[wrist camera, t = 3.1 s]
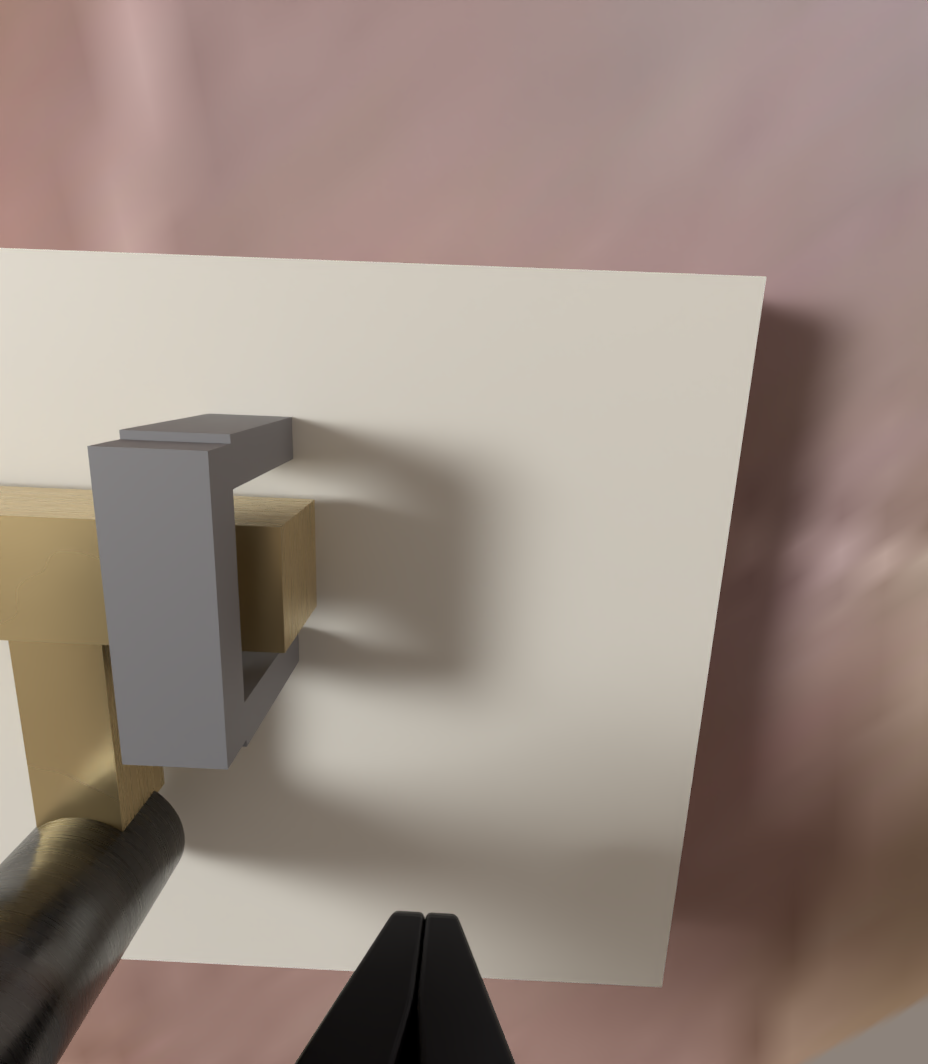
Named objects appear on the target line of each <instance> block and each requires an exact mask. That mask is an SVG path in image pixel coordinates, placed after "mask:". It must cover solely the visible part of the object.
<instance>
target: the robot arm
mask: <svg viewBox="0 0 928 1064" xmlns="http://www.w3.org/2000/svg"><path fill="white" fill-rule="evenodd" d="M295 1064H515V1062H514V1059H513V1057H512V1054H511V1051H510V1049H509V1046H508V1044H507V1041H506V1039H505V1036H504V1033H503V1031H502V1028H501V1026H500V1023H499V1021H498V1018H497V1016H496V1013H495V1010H494V1008H493V1005H492V1003H491V1000H490V998H489V995H488V992H487V990H486V987H485V985H484V982H483V980H482V977H481V974H480V972H479V969H478V967H477V964H476V962H475V959H474V956H473V954H472V951H471V949H470V946H469V944H468V941H467V939H466V936H465V933H464V931H463V928H462V926H461V923H460V921H459V919H458V917H457V916H456V915H455V914H449V913H432V912H431V913H428V914H427V915H426V917H424V914H423V913H421V912H413V911H395V912H394V913H393V914H392V915H391V916H390V917H389V919H388V920H387V922H386V923H385V925H384V927H383V928H382V930H381V931H380V933H379V934H378V936H377V937H376V939H375V940H374V942H373V944H372V945H371V947H370V948H369V950H368V951H367V953H366V954H365V956H364V957H363V959H362V961H361V962H360V964H359V965H358V967H357V968H356V970H355V971H354V973H353V974H352V976H351V978H350V979H349V981H348V982H347V984H346V985H345V987H344V988H343V990H342V991H341V993H340V995H339V996H338V998H337V999H336V1001H335V1002H334V1004H333V1005H332V1007H331V1008H330V1010H329V1012H328V1013H327V1015H326V1016H325V1018H324V1019H323V1021H322V1022H321V1024H320V1025H319V1027H318V1029H317V1030H316V1032H315V1033H314V1035H313V1036H312V1038H311V1039H310V1041H309V1042H308V1044H307V1046H306V1047H305V1049H304V1050H303V1052H302V1053H301V1055H300V1056H299V1058H298V1059H297V1061H296V1063H295Z"/></svg>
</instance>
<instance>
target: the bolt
mask: <svg viewBox="0 0 928 1064" xmlns="http://www.w3.org/2000/svg"><path fill="white" fill-rule="evenodd" d="M233 498H234V517H235V535H236V554H237V573H238V591H239V610H240V629H241V647H242V651H248V652H270V653H285V652H286V651H287V649H288V648H289V646H290V645H291V643H292V642H293V640H294V639H295V637H296V636H297V634H298V633H299V632H300V630H301V629H302V627H303V626H304V624H305V623H306V621H307V620H308V618H309V617H310V615H311V614H312V612H313V611H314V609H315V608H316V606H317V593H316V545H315V499H294V498H270V497H247V496H233ZM0 640H8V643H9V649H10V656H11V662H12V669H13V675H14V682H15V688H16V695H17V701H18V708H19V715H20V721H21V728H22V734H23V741H24V747H25V754H26V760H27V767H28V773H29V780H30V787H31V793H32V800H33V806H34V813H35V819H36V827H35V828H34V829H33V831H32V832H31V833H30V834H29V835H28V836H27V837H26V838H25V839H24V840H23V841H22V842H21V843H20V844H19V845H18V846H17V847H16V848H15V849H14V850H13V851H12V852H11V853H10V854H9V856H8V857H7V858H6V859H5V860H4V861H3V862H2V863H1V864H0V1064H57V1063H58V1062H59V1060H60V1058H61V1057H62V1055H63V1053H64V1052H65V1050H66V1048H67V1047H68V1045H69V1043H70V1042H71V1040H72V1038H73V1037H74V1035H75V1033H76V1032H77V1030H78V1029H79V1027H80V1025H81V1024H82V1022H83V1020H84V1019H85V1017H86V1015H87V1014H88V1012H89V1010H90V1009H91V1007H92V1005H93V1004H94V1002H95V1000H96V999H97V997H98V995H99V994H100V992H101V990H102V989H103V987H104V985H105V984H106V982H107V981H108V979H109V977H110V976H111V974H112V972H113V971H114V969H115V967H116V966H117V964H118V962H119V961H120V959H121V957H122V956H123V954H124V952H125V951H126V949H127V947H128V946H129V944H130V942H131V941H132V939H133V937H134V936H135V934H136V933H137V931H138V929H139V928H140V926H141V924H142V923H143V921H144V919H145V918H146V916H147V914H148V913H149V911H150V909H151V908H152V906H153V904H154V903H155V901H156V899H157V898H158V896H159V894H160V893H161V891H162V889H163V888H164V886H165V885H166V883H167V881H168V880H169V878H170V876H171V875H172V873H173V871H174V870H175V868H176V866H177V865H178V863H179V861H180V859H181V857H182V854H183V851H184V845H185V835H184V829H183V826H182V822H181V820H180V818H179V816H178V814H177V813H176V811H175V809H174V808H173V807H172V806H171V804H170V803H169V802H168V801H167V800H166V799H165V798H164V797H163V796H162V795H160V794H159V793H158V792H159V790H160V789H161V788H162V786H163V785H164V784H165V782H164V771H163V766H143V765H122V757H121V748H120V739H119V730H118V721H117V712H116V702H115V693H114V684H113V675H112V666H111V657H110V648H109V639H108V630H107V621H106V612H105V603H104V593H103V584H102V575H101V566H100V557H99V548H98V539H97V530H96V521H95V512H94V503H93V494H92V490H82V489H58V488H35V487H11V486H0Z"/></svg>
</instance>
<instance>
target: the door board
mask: <svg viewBox="0 0 928 1064" xmlns="http://www.w3.org/2000/svg"><path fill="white" fill-rule="evenodd" d="M765 283H766V277H765V276H738V275H711V274H684V273H658V272H631V271H604V270H577V269H550V268H524V267H497V266H470V265H443V264H416V263H390V262H363V261H336V260H309V259H282V258H256V257H229V256H202V255H175V254H148V253H122V252H95V251H68V250H41V249H14V248H0V486H11V487H35V488H58V489H82V490H92V494H93V503H94V512H95V521H96V530H97V539H98V548H99V557H100V566H101V575H102V584H103V593H104V603H105V612H106V621H107V630H108V639H109V648H110V657H111V666H112V675H113V684H114V693H115V702H116V712H117V721H118V730H119V739H120V748H121V757H122V765H143V766H163V771H164V782H165V784H164V785H163V786H162V788H161V789H160V790H159V792H158V793H159V794H160V795H162V796H163V797H164V798H165V799H166V800H167V801H168V802H169V803H170V804H171V806H172V807H173V808H174V809H175V811H176V813H177V814H178V816H179V818H180V820H181V822H182V826H183V829H184V835H185V845H184V851H183V854H182V857H181V859H180V861H179V863H178V865H177V866H176V868H175V870H174V871H173V873H172V875H171V876H170V878H169V880H168V881H167V883H166V885H165V886H164V888H163V889H162V891H161V893H160V894H159V896H158V898H157V899H156V901H155V903H154V904H153V906H152V908H151V909H150V911H149V913H148V914H147V916H146V918H145V919H144V921H143V923H142V924H141V926H140V928H139V929H138V931H137V933H136V934H135V936H134V937H133V939H132V941H131V942H130V944H129V946H128V947H127V949H126V951H125V952H124V954H123V956H122V957H121V959H132V960H151V961H170V962H189V963H208V964H227V965H246V966H265V967H284V968H303V969H322V970H341V971H355V970H356V968H357V967H358V965H359V964H360V962H361V961H362V959H363V957H364V956H365V954H366V953H367V951H368V950H369V948H370V947H371V945H372V944H373V942H374V940H375V939H376V937H377V936H378V934H379V933H380V931H381V930H382V928H383V927H384V925H385V923H386V922H387V920H388V919H389V917H390V916H391V915H392V914H393V913H394V912H395V911H413V912H421V913H423V914H424V917H426V915H427V914H428V913H431V912H432V913H449V914H455V915H456V916H457V917H458V919H459V921H460V923H461V926H462V928H463V931H464V933H465V936H466V939H467V941H468V944H469V946H470V949H471V951H472V954H473V956H474V959H475V962H476V964H477V967H478V969H479V972H480V974H481V977H482V978H493V979H512V980H531V981H550V982H569V983H588V984H607V985H626V986H645V987H662V983H663V976H664V969H665V962H666V956H667V949H668V942H669V935H670V928H671V922H672V915H673V908H674V901H675V894H676V888H677V881H678V874H679V867H680V861H681V854H682V847H683V840H684V833H685V827H686V820H687V813H688V806H689V799H690V793H691V786H692V779H693V772H694V765H695V759H696V752H697V745H698V738H699V731H700V725H701V718H702V711H703V704H704V698H705V691H706V684H707V677H708V670H709V664H710V657H711V650H712V643H713V636H714V630H715V623H716V616H717V609H718V602H719V596H720V589H721V582H722V575H723V568H724V562H725V555H726V548H727V541H728V535H729V528H730V521H731V514H732V507H733V501H734V494H735V487H736V480H737V473H738V467H739V460H740V453H741V446H742V439H743V433H744V426H745V419H746V412H747V405H748V399H749V392H750V385H751V378H752V372H753V365H754V358H755V351H756V344H757V338H758V331H759V324H760V317H761V310H762V304H763V297H764V290H765ZM233 496H247V497H270V498H294V499H315V545H316V593H317V606H316V608H315V609H314V611H313V612H312V614H311V615H310V617H309V618H308V620H307V621H306V623H305V624H304V626H303V627H302V629H301V630H300V632H299V633H298V634H297V636H296V637H295V639H294V640H293V642H292V643H291V645H290V646H289V648H288V649H287V651H286V652H285V653H270V652H248V651H242V647H241V629H240V610H239V591H238V573H237V554H236V535H235V517H234V498H233ZM35 827H36V819H35V813H34V806H33V800H32V793H31V787H30V780H29V773H28V767H27V760H26V754H25V747H24V741H23V734H22V728H21V721H20V715H19V708H18V701H17V695H16V688H15V682H14V675H13V669H12V662H11V656H10V649H9V643H8V640H0V864H1V863H2V862H3V861H4V860H5V859H6V858H7V857H8V856H9V854H10V853H11V852H12V851H13V850H14V849H15V848H16V847H17V846H18V845H19V844H20V843H21V842H22V841H23V840H24V839H25V838H26V837H27V836H28V835H29V834H30V833H31V832H32V831H33V829H34V828H35Z"/></svg>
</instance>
